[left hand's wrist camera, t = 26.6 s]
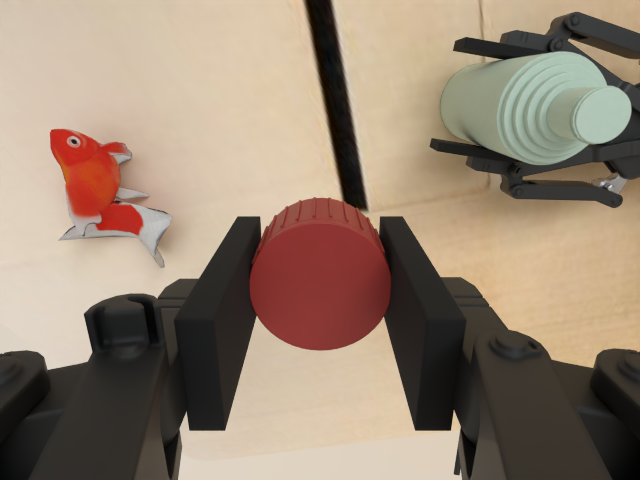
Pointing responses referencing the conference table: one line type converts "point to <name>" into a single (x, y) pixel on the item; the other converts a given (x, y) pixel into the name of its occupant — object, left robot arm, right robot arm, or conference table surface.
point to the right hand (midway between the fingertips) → (446, 96)
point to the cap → (320, 275)
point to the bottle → (534, 106)
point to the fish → (103, 192)
